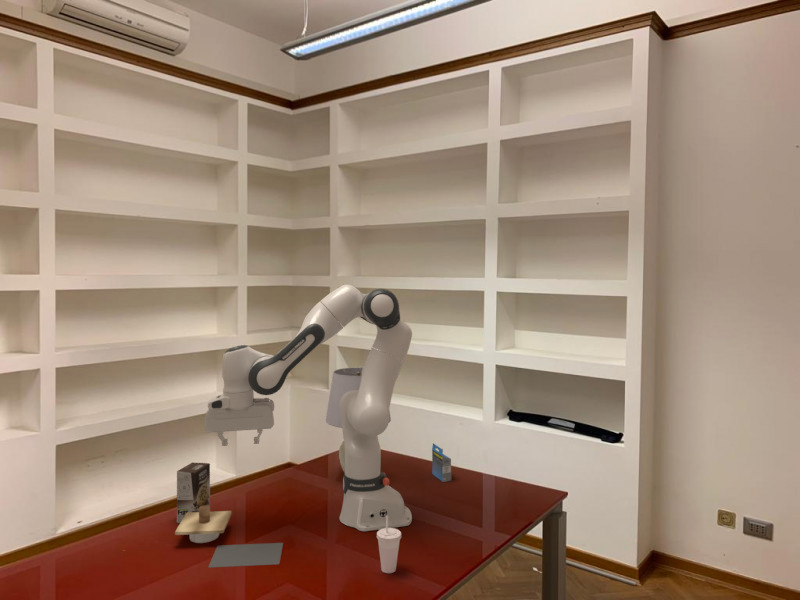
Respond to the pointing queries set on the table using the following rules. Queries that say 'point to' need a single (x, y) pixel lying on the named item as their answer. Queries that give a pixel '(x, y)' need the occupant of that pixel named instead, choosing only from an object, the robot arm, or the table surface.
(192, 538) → the ramekin
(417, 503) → the table surface
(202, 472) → the coffee box
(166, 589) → the table surface
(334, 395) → the lamp
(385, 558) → the smoothie
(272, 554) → the mat
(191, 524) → the lid
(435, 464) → the label tape box
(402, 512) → the robot arm
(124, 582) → the table surface
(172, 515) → the table surface
